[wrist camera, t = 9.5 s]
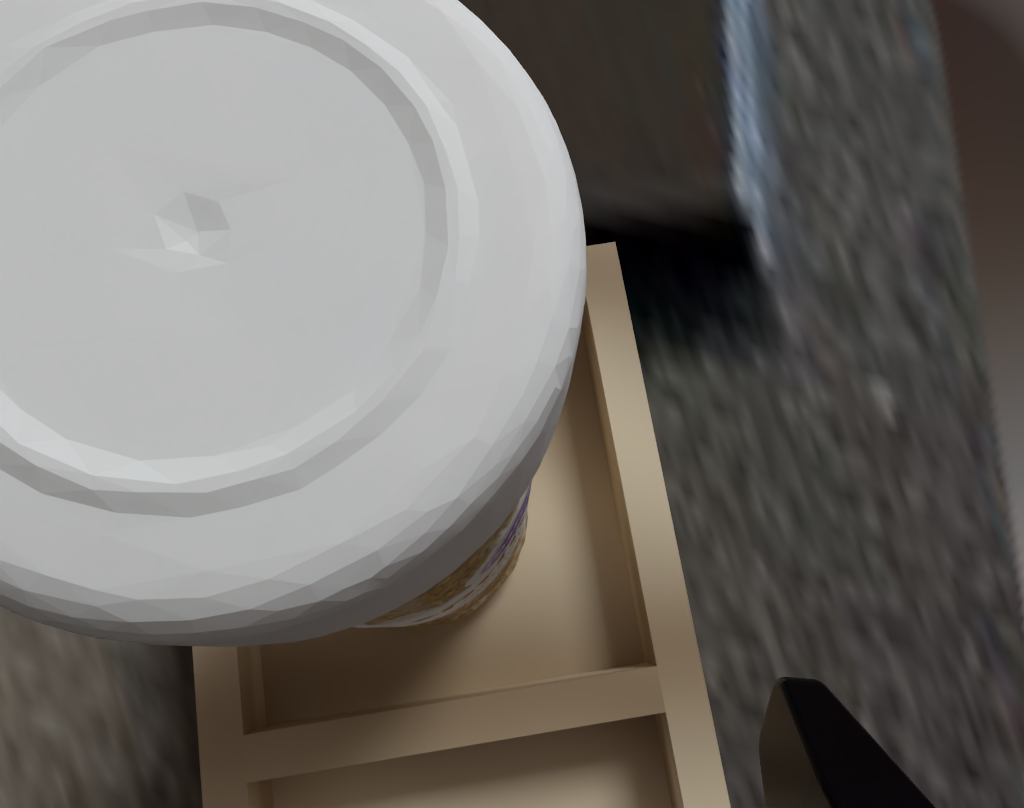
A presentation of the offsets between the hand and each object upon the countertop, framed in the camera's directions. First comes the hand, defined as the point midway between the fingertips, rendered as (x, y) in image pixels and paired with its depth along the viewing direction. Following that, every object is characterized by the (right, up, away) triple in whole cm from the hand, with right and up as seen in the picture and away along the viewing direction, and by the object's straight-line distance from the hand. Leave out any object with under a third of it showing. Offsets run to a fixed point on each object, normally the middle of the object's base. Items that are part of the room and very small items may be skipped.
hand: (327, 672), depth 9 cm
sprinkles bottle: (0, 0, +9) cm, 9 cm away
